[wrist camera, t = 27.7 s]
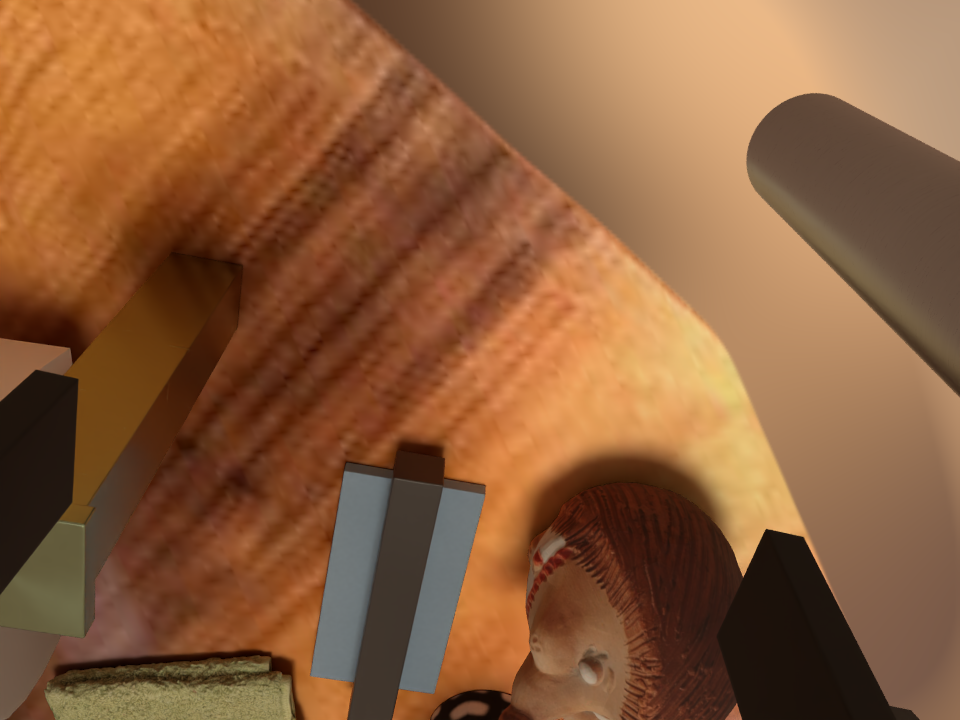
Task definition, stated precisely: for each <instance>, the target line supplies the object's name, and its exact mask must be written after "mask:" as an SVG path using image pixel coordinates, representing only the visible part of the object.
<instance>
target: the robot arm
mask: <svg viewBox="0 0 960 720" xmlns="http://www.w3.org/2000/svg"><path fill="white" fill-rule="evenodd" d="M78 382H79V379H77V378H73V377H68V376H64V375H59V374H55V373H50V372H45V371H41V370H35V371H34V372H32V373H31V374H30V375H29V376H28V377H27V378H26V379H25V380H24V381H22V382H21V383H20V384H19V385H18V386H17V387H16V388H15V389H14V390H12V391H11V392H10V393H9V394H8V395H7V396H6V397H5V398H3V399H2V400H1V401H0V595H1V593H2V592H3V591H4V590H5V588H6V587H7V586H8V584H9V583H10V582H11V581H12V579H13V578H14V577H15V576H16V574H17V573H18V572H19V570H20V569H21V568H22V567H23V565H24V564H25V563H26V561H27V560H28V559H29V558H30V556H31V555H32V554H33V552H34V551H35V550H36V549H37V547H38V546H39V545H40V543H41V542H42V541H43V540H44V538H45V537H46V536H47V534H48V533H49V532H50V531H51V529H52V528H53V527H54V525H55V524H56V523H57V522H58V520H59V519H60V518H61V517H62V515H63V514H64V513H65V511H66V510H67V509H68V508H69V506H70V505H71V504H72V502H73V482H74V462H75V442H76V422H77V402H78ZM717 640H718V643H719V646H720V649H721V652H722V656H723V659H724V662H725V665H726V669H727V672H728V675H729V678H730V682H731V685H732V688H733V691H734V695H735V698H736V701H737V704H738V707H739V711H740V714H741V717H742V720H919V719H918V717H916V715H915V714H914V713H913V712H912V711H911V710H907V709H902V708H897V707H892V706H889V704H888V702H887V700H886V699H885V696H884V694H883V692H882V690H881V689H880V686H879V684H878V682H877V681H876V679H875V677H874V675H873V673H872V671H871V669H870V667H869V665H868V663H867V661H866V659H865V657H864V655H863V653H862V651H861V649H860V647H859V645H858V643H857V641H856V639H855V637H854V635H853V633H852V631H851V629H850V627H849V626H848V624H847V622H846V620H845V618H844V616H843V614H842V612H841V610H840V608H839V606H838V604H837V602H836V600H835V598H834V596H833V594H832V592H831V590H830V588H829V586H828V584H827V582H826V580H825V578H824V576H823V574H822V572H821V571H820V569H819V567H818V565H817V563H816V561H815V559H814V557H813V555H812V553H811V551H810V549H809V547H808V545H807V543H806V541H805V539H804V537H801V536H796V535H792V534H787V533H782V532H778V531H773V530H769V529H766V530H765V532H764V534H763V536H762V538H761V541H760V543H759V545H758V547H757V549H756V551H755V554H754V556H753V558H752V560H751V562H750V564H749V567H748V569H747V571H746V573H745V575H744V577H743V580H742V582H741V584H740V586H739V588H738V590H737V593H736V595H735V597H734V599H733V601H732V603H731V606H730V608H729V610H728V612H727V614H726V616H725V619H724V621H723V623H722V625H721V627H720V629H719V632H718V634H717Z"/></svg>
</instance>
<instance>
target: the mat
mask: <svg viewBox="0 0 960 720" xmlns="http://www.w3.org/2000/svg"><path fill="white" fill-rule="evenodd" d="M392 475H393V470H389V469H383V468H377V467H371V466H365V465H359V464H353V463H346V466H345V470H344V475H343V481H342V487H341V493H340V500H339V506H338V512H337V518H336V524H335V530H334V536H333V542H332V548H331V554H330V560H329V566H328V572H327V578H326V584H325V590H324V596H323V602H322V608H321V614H320V620H319V626H318V632H317V638H316V644H315V650H314V656H313V662H312V668H311V674H310V676H313V677H320V678H327V679H334V680H341V681H348V682H354V677H355V672H356V667H357V661H358V656H359V651H360V645H361V640H362V635H363V629H364V624H365V619H366V613H367V608H368V603H369V597H370V592H371V587H372V581H373V576H374V571H375V566H376V560H377V555H378V550H379V544H380V539H381V534H382V528H383V523H384V518H385V512H386V507H387V502H388V496H389V491H390V486H391V480H392ZM484 498H485V486H484V485H478V484H472V483H466V482H460V481H454V480H448V479H444V486H443V491H442V495H441V500H440V504H439V509H438V513H437V518H436V522H435V527H434V531H433V536H432V540H431V545H430V550H429V554H428V559H427V563H426V568H425V572H424V577H423V581H422V586H421V590H420V595H419V599H418V604H417V608H416V613H415V617H414V622H413V626H412V631H411V635H410V640H409V645H408V649H407V654H406V658H405V663H404V667H403V672H402V676H401V681H400V685H399V689H403V690H410V691H417V692H424V693H431V694H434V692H435V688H436V684H437V680H438V677H439V673H440V669H441V665H442V661H443V657H444V653H445V649H446V646H447V642H448V638H449V634H450V630H451V626H452V622H453V618H454V615H455V611H456V607H457V603H458V599H459V595H460V591H461V587H462V584H463V580H464V576H465V572H466V568H467V564H468V560H469V556H470V553H471V549H472V545H473V541H474V537H475V533H476V529H477V525H478V522H479V518H480V514H481V510H482V506H483V502H484Z"/></svg>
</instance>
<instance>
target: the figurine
mask: <svg viewBox="0 0 960 720" xmlns="http://www.w3.org/2000/svg"><path fill="white" fill-rule="evenodd" d="M528 559H529V562H530V570H529V575H528V582H527V593H526V614H527V619H528V624H529V630H530V637H529V644H530V650H531V651H530V653H529V654H528V656H527V658H526V659H525V661H524V663H523V664H522V666H521V667H520V669H519V671H518V672H517V674H516V677H515V679H514V683H513V687H512V695H511V704H510V705H509V706H508V707H507V708H506V709H505V710H504V711H503V712H502V714H501V715H500V717H499V720H556V719H559V718H563V719H564V720H725V719H726V717H727V716H728V715H729V713H730V712H731V711H732V709H733V708H734V706H735V705H736V703H737V701H736V698H735V695H734V691H733V688H732V685H731V682H730V678H729V675H728V672H727V669H726V665H725V662H724V659H723V656H722V652H721V649H720V646H719V643H718V640H717V634H718V632H719V629H720V627H721V625H722V623H723V621H724V619H725V616H726V614H727V612H728V610H729V608H730V606H731V603H732V601H733V599H734V597H735V595H736V593H737V590H738V588H739V586H740V584H741V582H742V580H743V576H742V574H741V571H740V569H739V566H738V563H737V561H736V558H735V555H734V552H733V550H732V548H731V546H730V544H729V542H728V541H727V539H726V538H725V536H724V535H723V533H722V532H721V530H720V529H719V528H718V527H717V525H716V524H715V523H714V522H713V521H712V520H711V518H709V517H708V516H707V515H706V514H705V513H704V512H703V511H701V510H700V509H699V508H698V507H697V506H696V505H695V504H694V503H692V502H691V501H689V500H687V499H686V498H684V497H683V496H681V495H679V494H677V493H674V492H672V491H670V490H666V489H661V488H658V487H654V486H649V485H644V484H638V483H620V482H618V483H609V484H606V485H604V486H596V487H593V488H590V489H588V490H584V491H582V492H581V493H579V494H578V495H576V496H574V497H573V498H572V499H570V500H569V501H567V502H566V503H565V504H564V505H563V506H562V508H561V510H560V513H559V516H558V517H557V518H556V519H555V520H554V521H553V523H552V524H551V526H550V527H549V528H548V529H546V530H545V531H543V532H542V533H540V534H539V535H537V536H536V537H535V538H534V539H533V540H532V542H531V544H530V547H529V550H528Z"/></svg>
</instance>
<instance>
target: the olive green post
mask: <svg viewBox="0 0 960 720" xmlns="http://www.w3.org/2000/svg"><path fill="white" fill-rule="evenodd" d="M242 270H243V266H242V265H237V264H232V263H227V262H221V261H216V260H211V259H205V258H200V257H195V256H190V255H184V254H179V253H174V252H171V253H170V254H169V255H168V257H167V258H166V259H165V260H164V261H163V262H162V263H161V265H160V266H159V267H158V268H157V269H156V270H155V271H154V273H153V274H152V275H151V276H150V277H149V278H148V279H147V280H146V282H145V283H144V284H143V285H142V286H141V287H140V288H139V290H138V291H137V292H136V293H135V294H134V295H133V296H132V298H131V299H130V300H129V301H128V302H127V303H126V304H125V306H124V307H123V308H122V309H121V310H120V311H119V312H118V314H117V315H116V316H115V317H114V318H113V319H112V320H111V321H110V323H109V324H108V325H107V326H106V327H105V328H104V329H103V331H102V332H101V333H100V334H99V335H98V336H97V337H96V339H95V340H94V341H93V342H92V343H91V344H90V345H89V347H88V348H87V349H86V350H85V351H84V352H83V353H82V355H81V356H80V357H79V358H78V359H77V360H76V361H75V362H74V364H73V365H72V366H71V367H70V368H69V369H68V370H67V372H66V373H65V374H64V376H68V377H73V378H77V379H79V382H78V402H77V422H76V442H75V462H74V482H73V502H72V504H71V505H70V506H69V508H68V509H67V510H66V511H65V513H64V514H63V515H62V517H61V518H60V519H59V520H58V522H57V523H56V524H55V525H54V527H53V528H52V529H51V531H50V532H49V533H48V534H47V536H46V537H45V538H44V540H43V541H42V542H41V543H40V545H39V546H38V547H37V549H36V550H35V551H34V552H33V554H32V555H31V556H30V558H29V559H28V560H27V561H26V563H25V564H24V565H23V567H22V568H21V569H20V570H19V572H18V573H17V574H16V576H15V577H14V578H13V579H12V581H11V582H10V583H9V584H8V586H7V587H6V588H5V590H4V591H3V592H2V593H1V595H0V626H1V627H8V628H15V629H22V630H29V631H36V632H43V633H50V634H57V635H63V636H70V637H77V638H84V637H85V636H86V634H87V632H88V630H89V628H90V626H91V625H92V623H93V621H94V619H95V579H96V577H97V576H98V574H99V572H100V570H101V569H102V567H103V565H104V563H105V561H106V560H107V558H108V556H109V554H110V553H111V551H112V549H113V547H114V546H115V544H116V542H117V540H118V538H119V537H120V535H121V533H122V531H123V530H124V528H125V526H126V524H127V522H128V521H129V519H130V517H131V515H132V514H133V512H134V510H135V508H136V506H137V505H138V503H139V501H140V499H141V498H142V496H143V494H144V492H145V490H146V489H147V487H148V485H149V483H150V482H151V480H152V478H153V476H154V475H155V473H156V471H157V469H158V467H159V466H160V464H161V462H162V460H163V459H164V457H165V455H166V453H167V451H168V450H169V448H170V446H171V444H172V443H173V441H174V439H175V437H176V435H177V434H178V432H179V430H180V428H181V427H182V425H183V423H184V421H185V420H186V418H187V416H188V414H189V412H190V411H191V409H192V407H193V405H194V404H195V402H196V400H197V398H198V396H199V395H200V393H201V391H202V389H203V388H204V386H205V384H206V382H207V380H208V379H209V377H210V375H211V373H212V372H213V370H214V368H215V366H216V365H217V363H218V361H219V359H220V357H221V356H222V354H223V352H224V350H225V349H226V347H227V345H228V343H229V341H230V340H231V338H232V336H233V334H234V333H235V331H236V329H237V325H238V314H239V303H240V292H241V281H242Z"/></svg>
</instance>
